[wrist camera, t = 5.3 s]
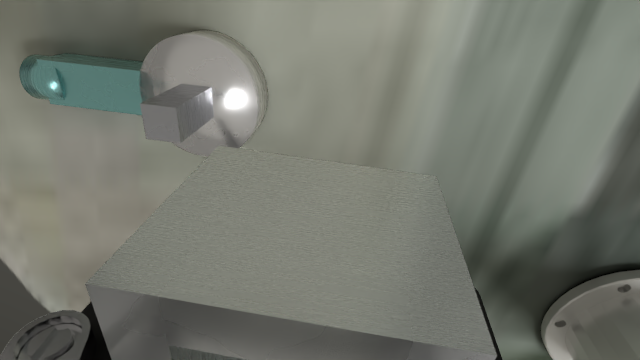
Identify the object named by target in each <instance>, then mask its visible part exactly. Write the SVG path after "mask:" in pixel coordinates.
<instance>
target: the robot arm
mask: <svg viewBox="0 0 640 360" xmlns="http://www.w3.org/2000/svg"><path fill="white" fill-rule="evenodd" d="M474 289H475V288H474ZM475 292H476V295H477V298H478V301H479V304H480V307H481V310H482V312H483V315H484V318H485V321H486V324H487V327H488V330H489V333H490V336H491V339H492V342H493V345H494V348H495V351H496V354H497V357H496V359H495V360H502V357H501V354H500V351H499V349H498V346H497V343H496V340H495V337H494V334H493V331H492V328H491V326H490V323H489V320H488V317H487V314H486V311H485V308H484V305H483V303H482V300H481V297H480V295H479V292H478V291H477V290H476V289H475ZM541 336H542V340H543V343H544V345H545V347H546V349H547V351H548V353H549V355H550V356H551V357H552V359H553V360H640V270H633V271H624V272H617V273H613V274H608V275H604V276H601V277H598V278H595V279H592V280H589V281H587V282H585V283H583V284H581V285H579V286H577V287H575V288H573V289H571V290H570V291H568V292H567V293H565V294H564V295H563V296H561V297H560V298H559V299H558V300H557V301H556V302H555V303H554V304H553V305H552V306H551V307H550V308H549V310H548V311H547V313H546V314H545V316H544V319H543V322H542V325H541ZM0 360H112V359H111V356H110V354H109V351H108V348H107V345H106V342H105V339H104V336H103V334H102V331H101V328H100V325H99V322H98V319H97V316H96V313H95V311H94V308H93V305H92V302H90V303H89V305H88V306H87V307H86V308H85V309H84V310H83V311H82V312H78V311H74V310H62V311H58V312H53V313H49V314H47V315H44V316H42V317H39V318H37V319H35V320H34V321H32V322H31V323H29V324H27V325H25V326H24V327H23V328H22V329H21V330H20V331H18V332H17V333H16V334H15V335H14V336H13V337H12V339H11V340H10V341H9V343H8V344H7V345H6V347H5V349H4V350H3V352H2V354H1V355H0Z"/></svg>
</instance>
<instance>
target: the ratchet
mask: <svg viewBox="0 0 640 360" xmlns="http://www.w3.org/2000/svg"><path fill="white" fill-rule="evenodd" d="M20 80H21V83H22V85H23V87H24V89H25V90H26V91H27V92H28V93H29V94H30V95H32V96H33V97H36V98H39V99H47V100H49V101H50V104H57V105H65V106H73V107H81V108H89V109H97V110H105V111H113V112H121V113H129V114H137V115H142V118H143V123H144V129H145V134H146V139H153V140H160V141H168V142H172V143H173V144H175V145H176V146H178V147H179V148H181V149H183V150H185V151H188V152H190V153H193V154H196V155H201V156H209V155H210V154H211V153H212V152H213V151H214V150H215V149H216V148H217V147H218V146H225V147H233V148H239V147H241V146H242V145H243V144H244V143H245V142H246V141H247V140H248V139H249V137H250V136H251V135H252V134H253V133H254V132H255V130H256V129H257V128H258V127H259V125H260V124H261V122H262V121H263V119H264V116H265V114H266V110H267V106H268V89H267V83H266V80H265V77H264V74H263V72H262V69H261V67H260V66H259V64H258V62H257V61H256V59H255V58H254V57H253V55H252V54H251V53H250V52H249V51H248V50H247V49H246V48H245V47H244V46H243V45H242V44H240V43H239V42H238V41H236V40H235V39H233V38H231V37H229V36H227V35H225V34H222V33H219V32H215V31H208V30H200V31H193V32H189V33H184V34H180V35H175V36H172V37H169V38H166V39H164V40H162V41H160V42H159V43H158V44H156V45H155V46H154V47H153V48H152V49H151V50H150V51H149V53H148V54H147V56H146V57H145V59H144V62H140V61H131V60H122V59H113V58H104V57H95V56H86V55H77V54H68V53H65V54H60V55H55V56H44V55H31V56H29V57H27V58H26V59H25V60H24V61H23V62H22V64H21V67H20Z"/></svg>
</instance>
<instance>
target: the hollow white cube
mask: <svg viewBox="0 0 640 360" xmlns="http://www.w3.org/2000/svg"><path fill="white" fill-rule="evenodd" d="M85 285H86V288H87V291H88V293H89V296H90V299H91V302H92V305H93V308H94V311H95V313H96V316H97V319H98V322H99V325H100V328H101V331H102V334H103V336H104V339H105V342H106V345H107V348H108V351H109V354H110V356H111V359H112V360H495V359H496V357H497V354H496V351H495V348H494V345H493V342H492V339H491V336H490V333H489V330H488V327H487V324H486V321H485V318H484V315H483V312H482V310H481V307H480V304H479V301H478V298H477V295H476V292H475V289H474V286H473V283H472V280H471V277H470V274H469V271H468V268H467V265H466V262H465V259H464V256H463V253H462V250H461V247H460V244H459V242H458V239H457V236H456V233H455V230H454V227H453V224H452V221H451V218H450V215H449V212H448V209H447V206H446V203H445V200H444V197H443V194H442V191H441V188H440V185H439V182H438V179H437V177H436V176H431V175H424V174H417V173H410V172H403V171H395V170H388V169H381V168H374V167H367V166H360V165H353V164H346V163H339V162H332V161H325V160H318V159H310V158H303V157H296V156H289V155H282V154H275V153H268V152H261V151H254V150H247V149H240V148H233V147H225V146H218V147H217V148H216V149H215V150H214V151H213V152H212V153H211V154H210V155H209V156H208V157H207V158H206V159H205V160H204V162H203V163H202V164H201V165H200V166H199V167H198V168H197V169H196V170H195V171H194V172H193V173H192V174H191V175H190V176H189V177H188V178H187V179H186V180H185V181H184V182H183V183H182V184H181V185H180V186H179V187H178V188H177V189H176V190H175V191H174V192H173V194H172V195H171V196H170V197H169V198H168V199H167V200H166V201H165V202H164V203H163V204H162V205H161V206H160V207H159V208H158V209H157V210H156V211H155V212H154V213H153V214H152V215H151V216H150V217H149V218H148V219H147V220H146V221H145V222H144V223H143V225H142V226H141V227H140V228H139V229H138V230H137V231H136V232H135V233H134V234H133V235H132V236H131V237H130V238H129V239H128V240H127V241H126V242H125V243H124V244H123V245H122V246H121V247H120V248H119V249H118V250H117V251H116V252H115V253H114V254H113V256H112V257H111V258H110V259H109V260H108V261H107V262H106V263H105V264H104V265H103V266H102V267H101V268H100V269H99V270H98V271H97V272H96V273H95V274H94V275H93V276H92V277H91V278H90V279H89V280H88V281H87V282H86V283H85Z"/></svg>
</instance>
